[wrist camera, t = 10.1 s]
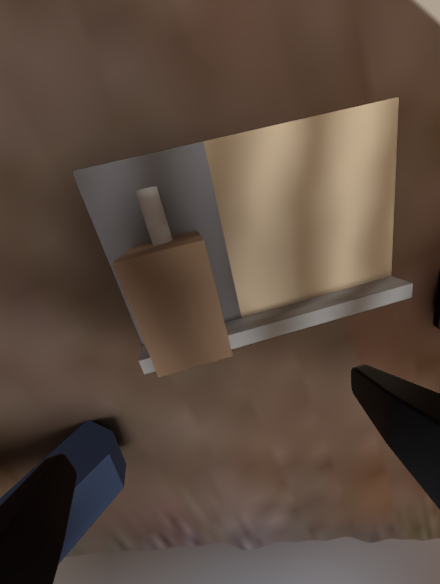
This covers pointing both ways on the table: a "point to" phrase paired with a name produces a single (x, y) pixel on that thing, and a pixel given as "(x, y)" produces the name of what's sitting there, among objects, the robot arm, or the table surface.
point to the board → (271, 217)
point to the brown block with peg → (172, 294)
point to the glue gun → (88, 477)
